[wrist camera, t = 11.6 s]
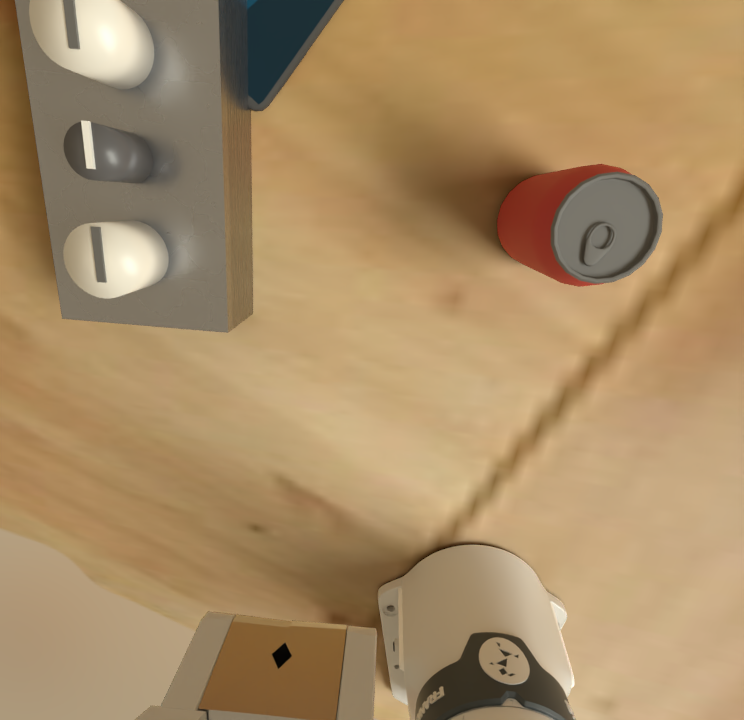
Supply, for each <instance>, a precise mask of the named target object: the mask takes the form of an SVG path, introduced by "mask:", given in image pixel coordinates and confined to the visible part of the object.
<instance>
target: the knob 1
mask: <svg viewBox="0 0 744 720" xmlns="http://www.w3.org/2000/svg"><path fill="white" fill-rule="evenodd" d="M29 17H30V23H31V27H32V30H33V33H34V36H35V38H36V40H37V42H38V44H39V45H40V47H41V48H42V50H43V51H44V52H45V53H46V55H47V56H48V57H49V58H50V59H51V60H53V61H54V62H55V63H57V64H58V65H60V66H61V67H64V68H66V69H68V70H71V71H73V72H76V73H78V74H81V75H83V76H85V77H88V78H90V79H93V80H95V81H98V82H100V83H103V84H105V85H108V86H110V87H113V88H116V89H130V88H133V87H136V86H138V85H139V84H141V83H142V82H143V81H144V80H145V79H147V76H148V75H149V73H150V71H151V69H152V66H153V61H154V44H153V40H152V36H151V33H150V31H149V29H148V27H147V25H146V23H145V22H144V21H143V19H142V18H141V17H140V16H139V15H138V14H137V13H136V12H135V11H134V10H133V9H131V8H130V7H128V6H127V5H126V4H124V3H123V2H122V1H120V0H30V4H29Z"/></svg>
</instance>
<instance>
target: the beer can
mask: <svg viewBox="0 0 744 720" xmlns="http://www.w3.org/2000/svg"><path fill="white" fill-rule="evenodd" d="M662 218H663V213H662V210H661V206H660V202H659V198H658V197H657V195H656V194H655V192H654V191H653V190H652V188H651V187H650V185H649V184H647V183H646V182H644V181H643V180H641V179H640V178H638V177H637V176H635V175H632V174H630V173H629V172H627V171H626V170H624V169H621V168H618V167H613V166H608V165H604V164H597V165H590V166H582V167H577V168H572V169H566V170H561V171H556V172H551V173H546V174H541V175H536V176H533V177H531V178H529V179H526V180H524V181H522V182H520V183H519V184H518V185H517V186H516V187H515V188H514V189H512V190H511V191H510V192H509V193H508V195H507V197H506V198H505V200H504V202H503V203H502V205H501V207H500V211H499V215H498V218H497V231H498V236H499V239H500V242H501V244H502V247H503V248H504V249H505V251H506V252H507V253H508V254H509V255H510V257H512V258H513V259H515V260H517V261H518V262H520V263H522V264H524V265H526V266H528V267H530V268H532V269H534V270H536V271H538V272H540V273H542V274H544V275H546V276H548V277H551V278H553V279H555V280H557V281H559V282H561V283H564V284H569V285H574V286H589V285H598V284H603V283H609V282H614V281H617V280H619V279H621V278H624V277H626V276H629V275H630V274H632V273H633V272H634V271H635V270H637V269H638V268H639V267H641V266H642V265H643V264H644V263H645V262H646V260H647V259H648V258H649V256H650V255H651V254H652V252H653V251H654V250H655V248H656V245H657V242H658V240H659V237H660V235H661V232H662Z"/></svg>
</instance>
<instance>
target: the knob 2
mask: <svg viewBox="0 0 744 720" xmlns="http://www.w3.org/2000/svg"><path fill="white" fill-rule="evenodd" d="M63 255H64V262H65V266H66V269H67V271H68V273H69V275H70V277H71V278H72V279H73V281H74V282H75V283H76V284H77V285H78V286H79V287H80V288H81V289H82V290H84V291H85V292H87V293H89V294H90V295H93V296H95V297H99V298H105V299H110V298H116V297H119V296H122V295H125V294H128V293H131V292H134V291H137V290H140V289H143V288H146V287H149V286H152V285H154V284H156V283H157V282H159V281H160V280H161V279H162V278H163V276H164V275H165V273H166V271H167V268H168V263H169V256H168V251H167V247H166V245H165V243H164V241H163V239H162V238H161V236H160V235H159V234H158V233H157V232H156V231H155V230H154V229H153V228H152V227H150V226H149V225H147V224H145V223H142V222H139V221H134V220H128V221H113V222H97V223H87V224H83V225H80V226H78V227H77V228H75V229H74V230H73V231H72V232H71V233H70V234H69V236H68V237H67V239H66V242H65V245H64V252H63Z"/></svg>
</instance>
